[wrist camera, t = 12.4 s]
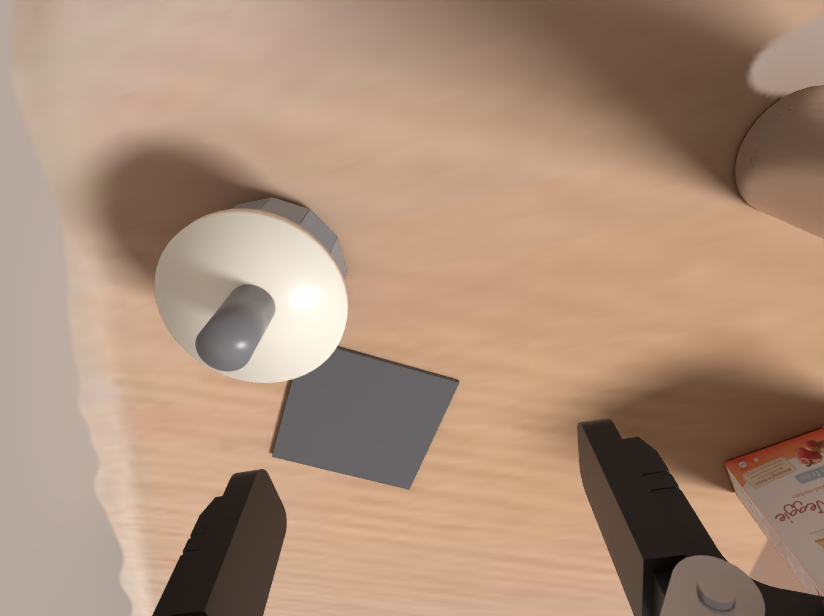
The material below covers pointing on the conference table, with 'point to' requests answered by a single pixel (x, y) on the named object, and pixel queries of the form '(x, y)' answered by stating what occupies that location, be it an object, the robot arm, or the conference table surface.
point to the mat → (363, 417)
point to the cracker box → (788, 501)
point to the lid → (252, 295)
